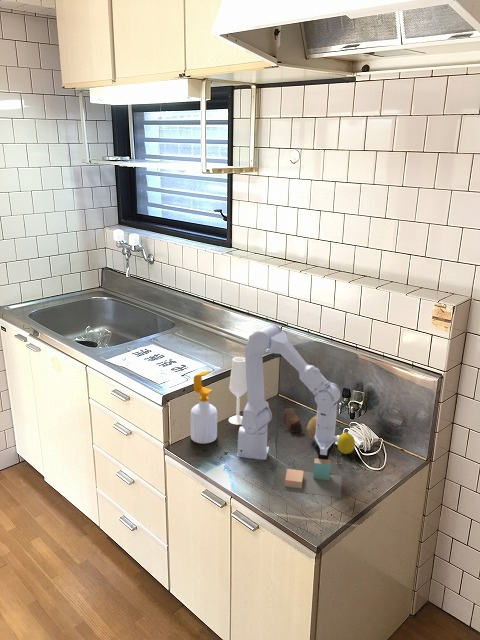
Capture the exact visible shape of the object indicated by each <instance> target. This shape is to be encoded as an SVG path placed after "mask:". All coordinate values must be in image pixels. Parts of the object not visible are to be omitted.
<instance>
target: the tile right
mask: <svg viewBox="0 0 480 640" xmlns="http://www.w3.org/2000/svg"><path fill="white" fill-rule="evenodd" d="M331 470H332V460H331V459H328V460H326V459H318V457H317V458H315V457H314V462H313V472H312V473H313V478H315V479H322V480H330V475H331Z"/></svg>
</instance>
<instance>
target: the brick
mask: <svg viewBox="0 0 480 640" xmlns="http://www.w3.org/2000/svg"><path fill="white" fill-rule="evenodd" d="M282 416H283V420H284V424H285V426H286V427H287V429H288V431H289V433H300V432H301V430H302V424H301V420H300V417H299V416H298V414H297V412H296V410H295V409H294V407H289V408H283V415H282Z"/></svg>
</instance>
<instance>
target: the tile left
mask: <svg viewBox="0 0 480 640" xmlns="http://www.w3.org/2000/svg"><path fill="white" fill-rule="evenodd" d="M286 469H287V472H286V478H285V486H286V487H294V488H301V489H302V482H303V473H304V472H305V471H304V470H299V469H291V468H286Z"/></svg>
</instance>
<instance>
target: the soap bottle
mask: <svg viewBox="0 0 480 640" xmlns="http://www.w3.org/2000/svg"><path fill="white" fill-rule="evenodd" d="M211 373H212V371H211V370H205V371H200V372H199V373H198V374H196V375H194V376H193V391H194V392H195V393H198V394H199V395H200V396H199V397H198V403H197V404H195V405H194V406H193V407H192V408H191V409H190V438H191V440H192V441H193V442H194V443H197V444H202V445H203V444H210V443H213V442H214V441H216V440H217V437H218V409H217V408H216V406H214V405H213V404H211V403H210V398H209V396H208V395H209V394H211V393H212V392H213V389H212V388H211V389H210V388H208V387H205V386H203V384H202V379H203V378H202V377H204V376H207V375H208V374H211Z"/></svg>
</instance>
